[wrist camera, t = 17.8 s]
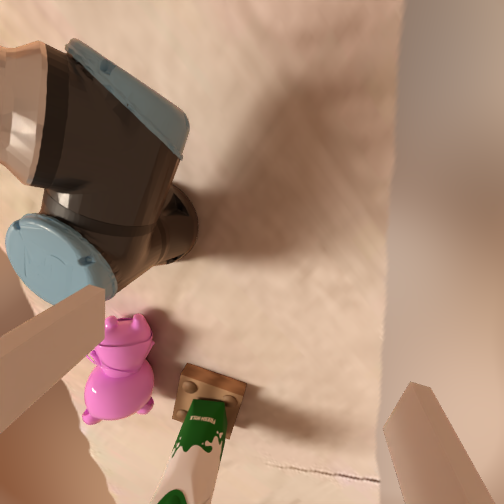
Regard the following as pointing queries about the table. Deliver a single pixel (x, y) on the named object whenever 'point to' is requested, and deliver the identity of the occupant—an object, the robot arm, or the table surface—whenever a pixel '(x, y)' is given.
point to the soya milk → (195, 456)
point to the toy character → (120, 372)
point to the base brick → (208, 393)
